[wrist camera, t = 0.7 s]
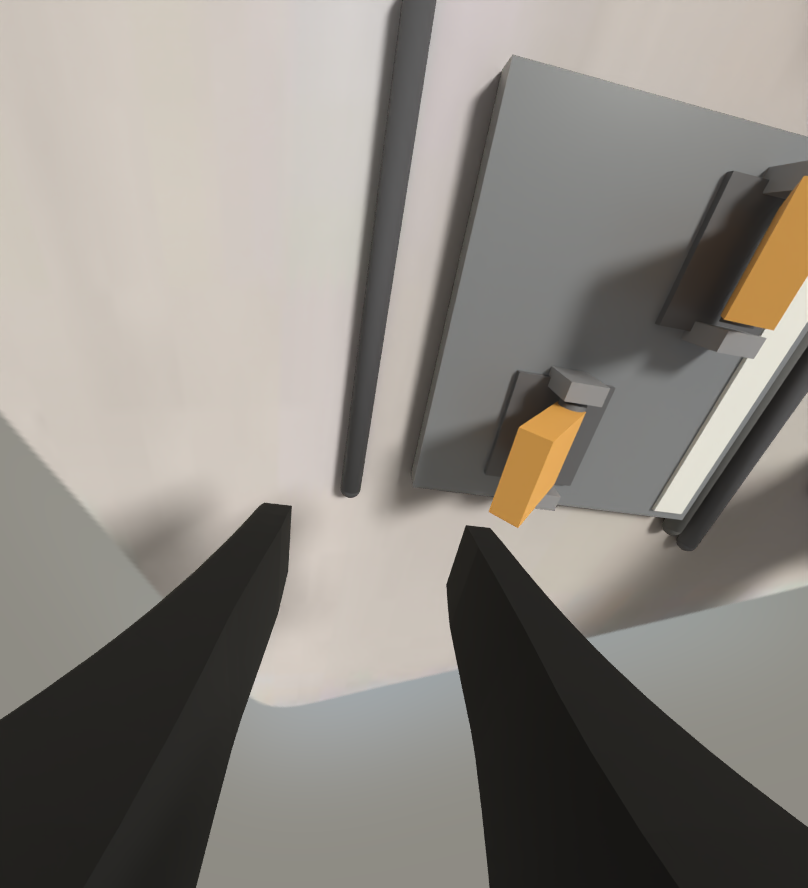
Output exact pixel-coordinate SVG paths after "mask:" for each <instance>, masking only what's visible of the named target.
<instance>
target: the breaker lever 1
mask: <svg viewBox="0 0 808 888" xmlns="http://www.w3.org/2000/svg"><path fill="white" fill-rule="evenodd" d="M586 408H587V405H584V404H578V403H572V402H566V401H563V400H562V399H561V398H560V399H559V402H558V401H557V402H556V403H554V404H553V405H551V406H550V407H548V408H547V409H545V410H544V411H542V412H541V413H539V414H538V415H536V416H535V417H533V418H532V419H530V420H529V421H527V422H526V423H524V424H523V425H521V426H520V427H519V428H518V431H517V434H516V437H515V439H514V442H513V445H512V448H511V451H510V453H509V456H508V459H507V462H506V465H505V467H504V470H503V473H502V476H501V479H500V481H499V484H498V487H497V490H496V493H495V495H494V498H493V501H492V504H491V507H490V509H489V512H490V513H492V514H494V515H495V516H497V517H499V518H501V519H503V520H504V521H506V522H508V523H510V524H512V525H513V526H515V527H517V528H518V527H519V526H520V525H521V524H522V523H523V521H524V520H525V519H526V518H527V517H528V515H529V514H530V513H531V512H532V511H533V509H534V508H535V507H536V506H537V505H538V503H539V502H540V501H541V500H542V499H543V497H544V496H545V495H546V494H547V493H548V491H549V490H550V489H551V488H552V487H553V485H554V484H555V482H556V479H557V477H558V475H559V473H560V470H561V468H562V466H563V463H564V461H565V459H566V457H567V454H568V452H569V450H570V447H571V445H572V443H573V441H574V438H575V436H576V434H577V432H578V429H579V427H580V425H581V422H582V420H583V418H584V416H585V413H586V412H585V410H586Z"/></svg>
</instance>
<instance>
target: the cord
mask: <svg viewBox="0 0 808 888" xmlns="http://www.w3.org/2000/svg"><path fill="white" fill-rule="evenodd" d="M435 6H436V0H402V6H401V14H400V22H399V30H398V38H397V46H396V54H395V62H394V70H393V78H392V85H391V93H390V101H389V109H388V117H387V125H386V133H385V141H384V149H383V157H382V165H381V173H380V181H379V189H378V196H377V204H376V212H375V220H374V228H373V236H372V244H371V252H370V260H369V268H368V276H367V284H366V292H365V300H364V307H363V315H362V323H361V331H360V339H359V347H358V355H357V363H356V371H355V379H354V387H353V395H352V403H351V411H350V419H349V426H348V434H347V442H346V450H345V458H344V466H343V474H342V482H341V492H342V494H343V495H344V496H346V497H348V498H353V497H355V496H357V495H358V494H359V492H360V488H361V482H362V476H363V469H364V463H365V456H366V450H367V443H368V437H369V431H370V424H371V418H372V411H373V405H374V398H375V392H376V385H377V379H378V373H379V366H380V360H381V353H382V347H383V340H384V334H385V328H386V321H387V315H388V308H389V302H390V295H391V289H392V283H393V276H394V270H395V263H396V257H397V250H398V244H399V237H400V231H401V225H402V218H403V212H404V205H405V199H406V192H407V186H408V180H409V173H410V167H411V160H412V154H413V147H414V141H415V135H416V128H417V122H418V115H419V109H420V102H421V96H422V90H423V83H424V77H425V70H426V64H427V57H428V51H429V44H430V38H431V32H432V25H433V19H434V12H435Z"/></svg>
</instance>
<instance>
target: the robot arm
mask: <svg viewBox="0 0 808 888" xmlns="http://www.w3.org/2000/svg"><path fill="white" fill-rule="evenodd" d="M291 509H292V506H288V505H279V504H270V503H263V504H262V505H260V506H259V507H258V508H257V509H256V510H255V511H254V513H253V514H252V515H251V516H250V517H249V518H248V519H247V520H246V521H245V522H244V523H243V524H242V526H241V527H240V528H239V529H238V530H237V531H236V532H235V533H234V534H233V535H232V536H231V537H230V538H229V539H228V540H227V541H226V542H225V543H224V544H223V545H222V546H221V547H220V548H219V549H218V550H217V551H216V552H215V553H214V554H213V555H212V556H210V557H209V558H208V559H207V560H206V561H205V562H204V563H203V564H202V565H201V566H200V567H199V568H198V569H197V570H196V571H195V572H194V573H193V574H191V575H190V576H189V577H188V578H187V579H186V580H185V581H183V582H182V583H181V584H180V585H179V586H178V587H177V588H175V589H174V590H173V591H172V592H171V593H170V594H169V595H167V596H166V597H165V598H164V599H163V600H162V601H161V602H159V603H158V604H157V605H156V606H155V607H154V608H153V609H151V610H150V611H149V612H147V613H146V614H145V615H144V616H143V617H141V618H140V619H139V620H138V621H137V622H135V623H134V624H133V625H131V626H130V627H129V628H128V629H126V630H125V631H124V632H122V633H121V634H120V635H119V636H117V637H116V638H115V639H113V640H112V641H111V642H109V643H108V644H107V645H105V646H104V647H103V648H101V649H100V650H99V651H98V652H96V653H95V654H94V655H92V656H91V657H89V658H88V659H87V660H85V661H84V662H82V663H81V664H80V665H78V666H77V667H75V668H74V669H73V670H71V671H70V672H69V673H67V674H66V675H64V676H63V677H61V678H60V679H59V680H57V681H56V682H54V683H53V684H52V685H50V686H49V687H47V688H46V689H45V690H43V691H42V692H41V693H39V694H37V695H36V696H35V697H33V698H32V699H30V700H29V701H27V702H26V703H24V704H23V705H21V706H20V707H18V708H17V709H16V710H14V711H12V712H11V713H10V714H8V715H6V716H5V717H3V718H2V719H0V888H196V885H197V881H198V877H199V873H200V869H201V866H202V862H203V858H204V854H205V850H206V846H207V842H208V838H209V834H210V830H211V826H212V823H213V819H214V815H215V810H216V807H217V803H218V800H219V796H220V792H221V788H222V784H223V781H224V777H225V773H226V769H227V765H228V761H229V758H230V754H231V750H232V747H233V743H234V740H235V737H236V733H237V731H238V727H239V724H240V721H241V718H242V715H243V712H244V709H245V707H246V704H247V701H248V698H249V695H250V692H251V689H252V687H253V684H254V681H255V678H256V675H257V672H258V670H259V667H260V664H261V661H262V658H263V655H264V652H265V650H266V647H267V644H268V641H269V638H270V635H271V632H272V629H273V626H274V624H275V621H276V618H277V615H278V611H279V607H280V603H281V599H282V595H283V590H284V586H285V582H286V577H287V573H288V563H289V545H290V527H291ZM446 587H447V600H448V612H449V623H450V630H451V635H452V640H453V645H454V650H455V655H456V660H457V665H458V670H459V675H460V680H461V684H462V689H463V694H464V699H465V704H466V708H467V714H468V718H469V723H470V728H471V733H472V740H473V745H474V751H475V758H476V766H477V775H478V783H479V791H480V800H481V808H482V817H483V827H484V837H485V846H486V856H487V865H488V874H489V886H490V888H808V827H807V826H806V825H804V824H803V823H802V822H800V821H799V820H797V819H796V818H795V817H794V816H792V815H791V814H790V813H788V812H787V811H786V810H784V809H783V808H782V807H780V806H779V805H778V804H776V803H775V802H774V801H773V800H771V799H770V798H769V797H767V796H766V795H765V794H764V793H762V792H761V791H760V790H758V789H757V788H756V787H754V786H753V785H752V784H750V783H749V782H748V781H747V780H745V779H744V778H743V777H741V776H740V775H739V774H738V773H736V772H735V771H734V770H733V769H731V768H730V767H729V766H728V765H726V764H725V763H724V762H723V761H721V760H720V759H719V758H718V757H716V756H715V755H714V754H713V753H711V752H710V751H709V750H708V749H707V748H705V747H704V746H703V745H702V744H701V743H699V742H698V741H697V740H696V739H695V738H693V737H692V736H691V735H690V734H689V733H688V732H686V731H685V730H684V729H683V728H682V727H681V726H679V725H678V724H677V723H676V722H675V721H673V720H672V719H671V718H670V717H669V716H667V715H666V714H665V713H664V712H663V711H662V710H661V709H659V708H658V707H657V706H656V705H655V704H654V703H653V702H652V701H650V700H649V699H648V698H647V697H646V696H645V695H644V694H643V693H642V692H641V691H639V690H638V689H637V688H636V687H635V686H634V685H633V684H632V683H631V682H630V681H629V680H628V679H627V678H626V677H625V676H624V675H623V674H621V673H620V672H619V671H618V670H617V669H616V668H615V667H614V666H613V665H612V664H611V663H610V662H609V661H608V660H607V659H606V658H605V657H604V656H603V655H602V654H601V653H600V652H599V651H598V650H596V648H595V647H594V646H593V645H592V644H591V643H590V642H589V641H588V640H587V639H586V638H585V637H584V636H583V635H582V634H581V633H580V632H579V631H578V630H577V628H576V627H575V626H574V625H573V624H572V623H571V622H570V621H569V620H568V619H567V618H566V617H565V616H564V615H563V613H562V612H561V611H560V610H559V609H558V608H557V607H556V606H555V605H554V603H553V602H552V601H551V600H550V599H549V598H548V597H547V595H546V594H545V593H544V592H543V591H542V590H541V588H540V587H539V586H538V585H537V584H536V583H535V581H534V580H533V579H532V578H531V577H530V575H529V574H528V573H527V572H526V571H525V569H524V568H523V567H522V566H521V565H520V563H519V562H518V561H517V560H516V559H515V557H514V556H513V555H512V554H511V552H510V551H509V550H508V549H507V548H506V546H505V545H504V544H503V543H502V541H501V540H500V539H499V538H498V537H497V535H496V534H495V533H494V532H493V531H492V530H491V528H485V527H476V526H467V525H466V527H465V530H464V533H463V536H462V539H461V542H460V545H459V548H458V551H457V554H456V557H455V560H454V563H453V566H452V569H451V572H450V575H449V578H448V581H447V584H446Z"/></svg>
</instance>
